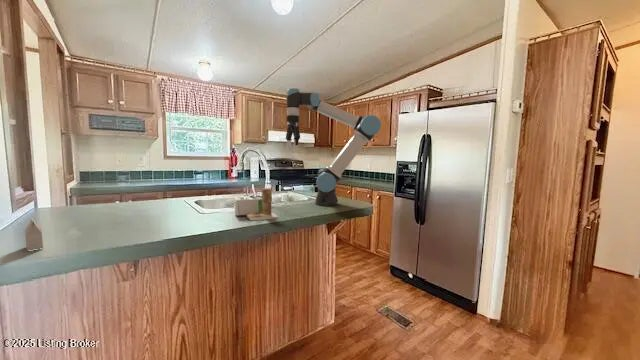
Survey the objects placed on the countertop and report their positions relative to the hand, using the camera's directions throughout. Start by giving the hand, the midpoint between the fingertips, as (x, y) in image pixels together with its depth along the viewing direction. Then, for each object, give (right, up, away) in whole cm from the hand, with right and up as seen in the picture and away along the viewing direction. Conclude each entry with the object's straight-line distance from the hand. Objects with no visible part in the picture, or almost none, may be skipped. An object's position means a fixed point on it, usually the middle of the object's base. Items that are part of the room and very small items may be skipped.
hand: (292, 151), depth 167 cm
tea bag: (-81, -41, -74) cm, 117 cm away
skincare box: (-14, -32, -16) cm, 38 cm away
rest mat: (-13, -37, -25) cm, 47 cm away
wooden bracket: (-15, -36, -25) cm, 47 cm away
